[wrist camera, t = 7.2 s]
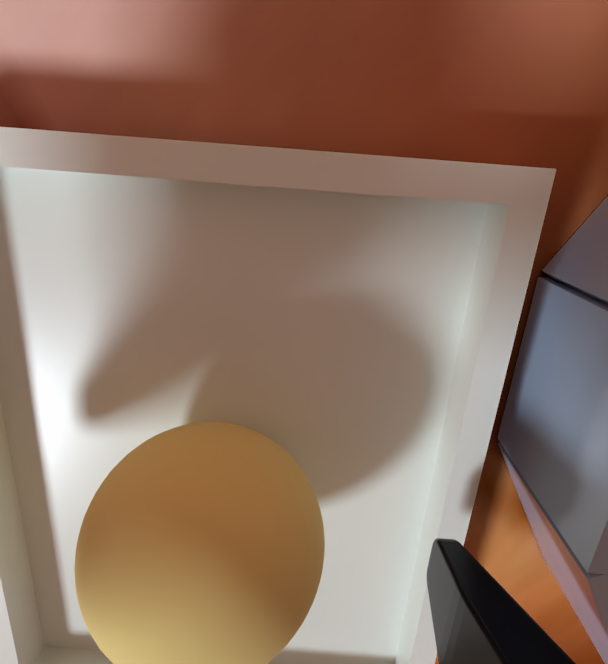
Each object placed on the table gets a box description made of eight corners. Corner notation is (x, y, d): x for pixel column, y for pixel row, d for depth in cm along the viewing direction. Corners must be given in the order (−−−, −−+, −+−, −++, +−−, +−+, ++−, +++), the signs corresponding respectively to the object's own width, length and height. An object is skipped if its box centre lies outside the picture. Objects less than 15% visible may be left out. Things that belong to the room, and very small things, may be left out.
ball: (307, 542, 11) (326, 754, 7) (128, 541, 11) (41, 764, 7) (321, 386, 10) (356, 542, 6) (115, 379, 10) (-5, 540, 5)
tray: (406, 667, 13) (417, 730, 12) (37, 639, 13) (3, 698, 12) (515, 168, 9) (556, 168, 7) (-56, 125, 9) (-134, 116, 7)
